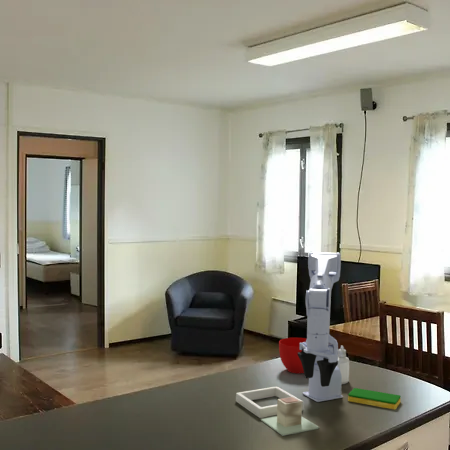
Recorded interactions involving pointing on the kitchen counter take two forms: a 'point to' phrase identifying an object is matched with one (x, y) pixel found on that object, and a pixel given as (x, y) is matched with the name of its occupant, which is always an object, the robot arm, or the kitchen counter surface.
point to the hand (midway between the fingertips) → (316, 381)
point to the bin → (247, 396)
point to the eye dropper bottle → (343, 365)
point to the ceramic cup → (291, 354)
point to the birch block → (289, 411)
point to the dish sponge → (374, 398)
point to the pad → (282, 430)
